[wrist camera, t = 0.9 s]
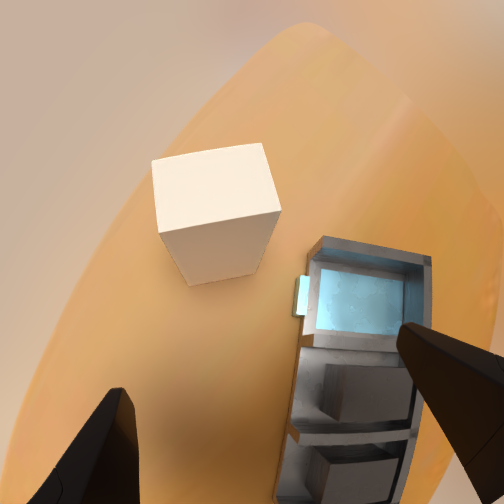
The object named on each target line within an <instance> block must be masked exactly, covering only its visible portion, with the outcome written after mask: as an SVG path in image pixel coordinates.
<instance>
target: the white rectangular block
mask: <svg viewBox="0 0 504 504" xmlns="http://www.w3.org/2000/svg"><path fill="white" fill-rule="evenodd" d="M151 162H152V175H153V186H154V196H155V206H156V215H157V224H158V232H159V235H160V236H161V238H162V240H163V242H164V244H165V246H166V247H167V249H168V251H169V253H170V255H171V256H172V258H173V260H174V262H175V263H176V265H177V267H178V269H179V270H180V272H181V274H182V276H183V277H184V279H185V281H186V283H187V284H188V286H189V287H190V286H195V285H200V284H205V283H210V282H215V281H220V280H226V279H231V278H235V277H240V276H245V275H250V274H255V273H256V270H257V268H258V266H259V263H260V261H261V259H262V256H263V254H264V251H265V249H266V247H267V244H268V242H269V240H270V237H271V235H272V232H273V230H274V228H275V225H276V223H277V220H278V218H279V216H280V213H281V211H282V210H281V206H280V203H279V199H278V196H277V192H276V189H275V186H274V182H273V179H272V176H271V172H270V169H269V166H268V163H267V159H266V156H265V153H264V150H263V147H262V143H254V144H247V145H239V146H232V147H225V148H218V149H212V150H206V151H200V152H194V153H188V154H183V155H177V156H172V157H167V158H162V159H157V160H153V161H151Z"/></svg>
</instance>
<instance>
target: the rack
mask: <svg viewBox="0 0 504 504" xmlns="http://www.w3.org/2000/svg"><path fill="white" fill-rule="evenodd" d="M292 316H296V317H301V324H300V332H299V340H298V348H297V356H296V363H295V370H294V377H293V384H292V391H291V398H290V404H289V410H288V417H287V423H286V429H285V434H284V440H283V446H282V451H281V457H280V462H279V467H278V472H277V477H276V482H275V487H274V492H273V497H272V500H273V502H274V504H399V502H400V499H401V496H402V493H403V490H404V487H405V483H406V480H407V476H408V473H409V469H410V465H411V462H412V458H413V454H414V449H415V445H416V440H417V436H418V431H419V426H420V421H421V415H422V409H423V403H424V399H423V397H422V395H421V394H420V392H419V391H418V389H417V387H416V386H415V384H414V382H413V380H412V378H411V377H410V374H409V372H408V370H407V368H406V366H405V364H404V362H403V360H402V358H401V356H400V354H399V352H398V350H397V348H396V340H397V336H398V332H399V328H400V326H401V325H402V324H405V323H407V322H414V323H416V324H419V325H421V326H424V327H427V328H429V329H431V322H432V264H431V256H426V255H421V254H416V253H411V252H407V251H402V250H397V249H392V248H387V247H382V246H376V245H371V244H366V243H361V242H356V241H350V240H345V239H340V238H334V237H329V236H322V237H321V239H320V240H319V241H318V242H317V243H316V244H315V245H314V247H313V248H312V249H311V250H310V251H309V252H308V255H307V266H306V276H303V275H300V276H299V277H298V278H297V279H296V286H295V295H294V304H293V313H292Z"/></svg>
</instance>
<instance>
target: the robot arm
mask: <svg viewBox="0 0 504 504" xmlns="http://www.w3.org/2000/svg"><path fill="white" fill-rule="evenodd" d="M396 348H397V350H398V352H399V354H400V356H401V358H402V360H403V362H404V364H405V366H406V368H407V370H408V372H409V374H410V377H411V378H412V380H413V382H414V384H415V386H416V387H417V389H418V391H419V392H420V394H421V395H422V397H423V399H424V400H425V402H426V404H427V405H428V407H429V408H430V410H431V412H432V413H433V415H434V417H435V418H436V420H437V422H438V423H439V425H440V427H441V429H442V430H443V432H444V434H445V435H446V437H447V439H448V441H449V442H450V444H451V446H452V448H453V449H454V451H455V453H456V455H457V457H458V458H459V460H460V462H461V464H462V466H463V467H464V470H465V471H466V473H467V475H468V477H469V479H470V481H471V483H472V485H473V487H474V489H475V490H476V492H477V494H478V496H479V498H480V500H481V502H482V504H492V503H493V502H494V501H496V500H497V499H499V498H500V497H501V496H503V495H504V357H501V356H499V355H494V354H493V353H491V352H488V351H486V350H483V349H480V348H478V347H475V346H473V345H470V344H468V343H465V342H462V341H460V340H457V339H455V338H452V337H450V336H447V335H444V334H442V333H439V332H437V331H434V330H432V329H429V328H427V327H424V326H421V325H419V324H416V323H414V322H407V323H405V324H402V325H401V326H400V328H399V332H398V336H397V340H396ZM55 467H56V468H54V469H53V470H52V471H51V473H50V474H49V476H48V477H47V479H46V480H45V481H44V483H43V484H42V486H41V487H40V488H39V489H38V491H37V492H36V493H35V494H34V496H33V497H32V498H31V499H30V500H29V501H28V503H27V504H140V491H139V448H138V439H137V429H136V418H135V408H134V405H133V402H132V401H131V399H130V397H129V396H128V394H127V392H126V390H125V389H124V388H122V387H120V388H111V389H110V390H109V391H108V393H107V394H106V395H105V397H104V398H103V399H102V401H101V402H100V404H99V405H98V406H97V408H96V409H95V410H94V412H93V413H92V415H91V416H90V417H89V419H88V420H87V422H86V423H85V424H84V426H83V427H82V429H81V430H80V431H79V433H78V434H77V436H76V437H75V438H74V440H73V441H72V443H71V444H70V446H69V447H68V448H67V450H66V451H65V453H64V454H63V456H62V457H61V459H60V460H59V461H58V463H57V464H56V466H55Z"/></svg>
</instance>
